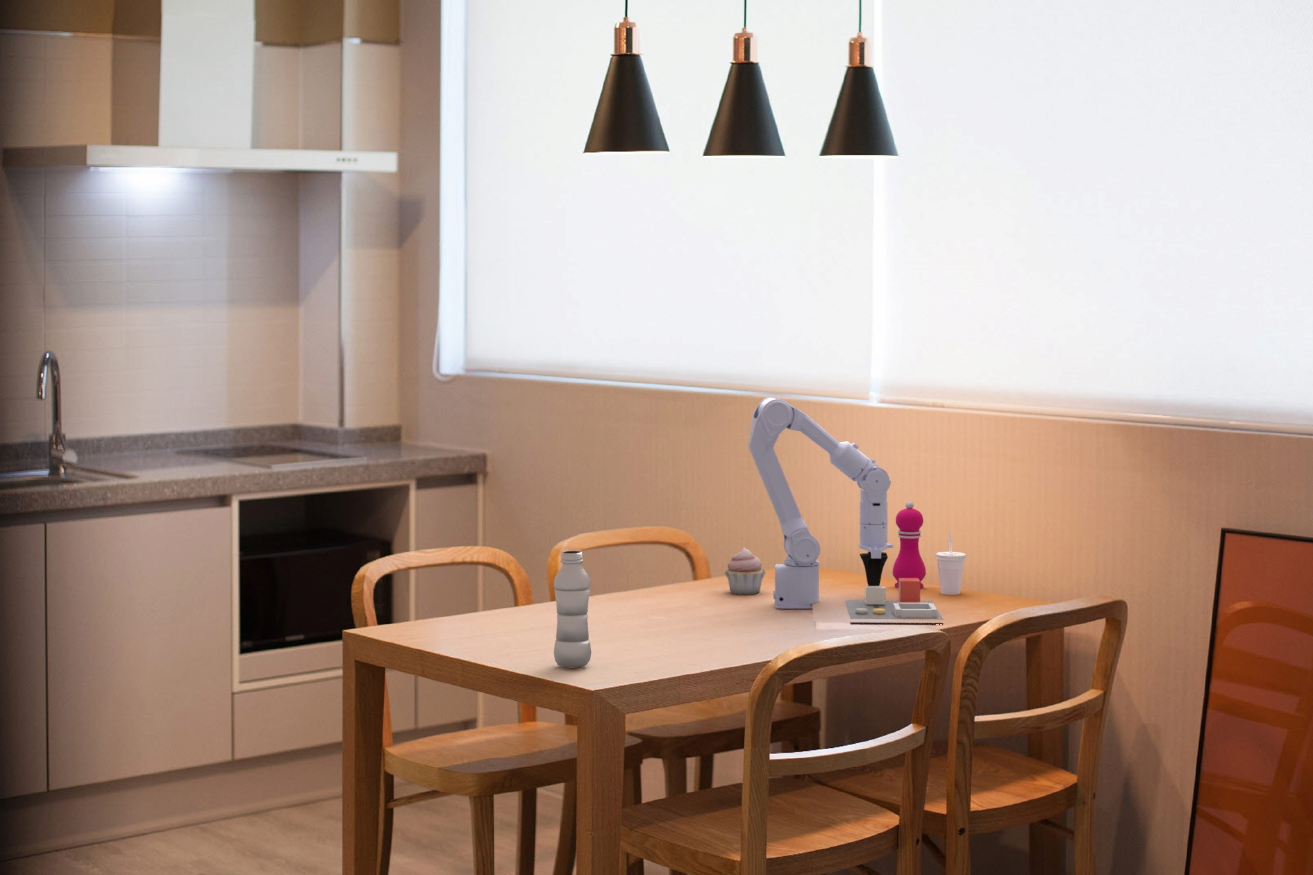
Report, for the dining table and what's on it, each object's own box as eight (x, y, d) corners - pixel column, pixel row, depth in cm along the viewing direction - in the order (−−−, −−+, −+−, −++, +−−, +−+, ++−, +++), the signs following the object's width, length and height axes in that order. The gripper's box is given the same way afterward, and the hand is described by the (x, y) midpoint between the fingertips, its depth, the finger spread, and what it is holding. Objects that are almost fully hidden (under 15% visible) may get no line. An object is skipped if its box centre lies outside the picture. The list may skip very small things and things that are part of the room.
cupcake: (744, 587, 345) (744, 543, 344) (774, 592, 338) (774, 547, 338) (714, 592, 339) (714, 547, 338) (745, 597, 332) (745, 551, 331)
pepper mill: (892, 588, 342) (892, 499, 341) (925, 589, 341) (925, 499, 340) (892, 594, 335) (893, 503, 334) (926, 595, 334) (926, 503, 333)
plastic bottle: (547, 669, 264) (546, 553, 262) (563, 661, 270) (562, 548, 269) (582, 672, 262) (580, 555, 260) (597, 664, 268) (596, 550, 266)
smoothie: (964, 596, 333) (964, 531, 332) (967, 601, 326) (967, 535, 325) (933, 595, 333) (934, 531, 332) (936, 601, 327) (936, 535, 326)
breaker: (865, 604, 316) (866, 587, 315) (865, 602, 318) (865, 585, 318) (885, 604, 315) (885, 588, 315) (884, 602, 318) (884, 586, 318)
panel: (850, 624, 302) (850, 610, 302) (844, 605, 322) (844, 593, 322) (943, 625, 301) (943, 611, 300) (931, 606, 321) (931, 593, 320)
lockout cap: (900, 605, 315) (900, 581, 315) (898, 601, 319) (898, 577, 319) (920, 605, 315) (920, 581, 315) (918, 601, 319) (918, 578, 319)
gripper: (896, 527, 314) (895, 593, 315) (889, 518, 329) (889, 581, 330) (861, 527, 315) (861, 593, 316) (856, 518, 329) (856, 581, 330)
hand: (873, 587), depth 323 cm, fingers closed
